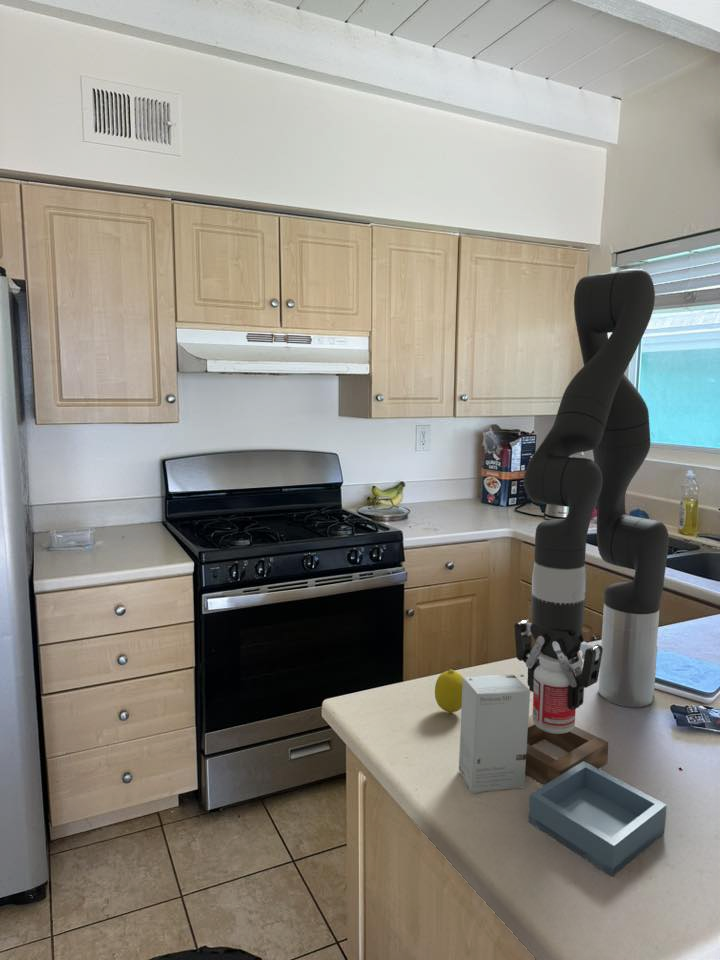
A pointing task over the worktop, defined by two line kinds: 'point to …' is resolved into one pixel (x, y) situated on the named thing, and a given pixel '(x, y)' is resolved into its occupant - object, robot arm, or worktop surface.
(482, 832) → the worktop surface
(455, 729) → the worktop surface
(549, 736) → the collar block
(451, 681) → the lemon
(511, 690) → the skincare box
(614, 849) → the tray
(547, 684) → the pill bottle
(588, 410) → the robot arm
